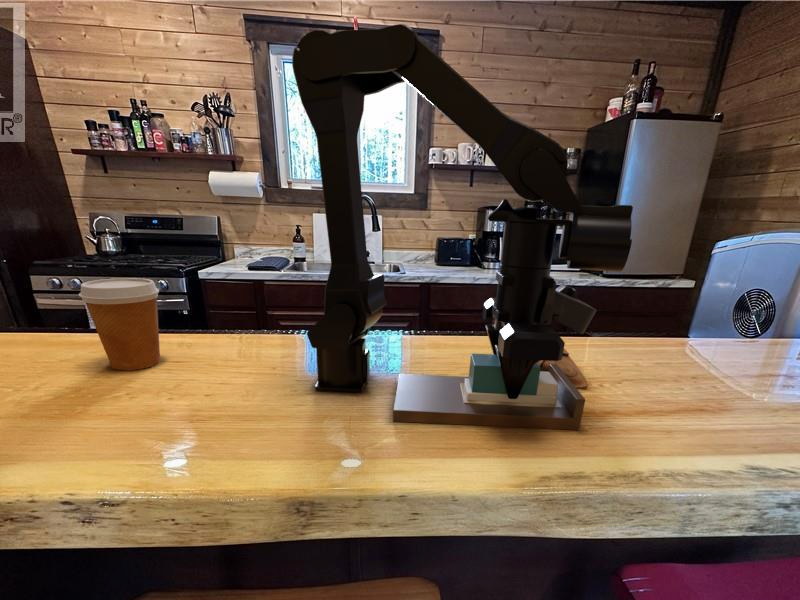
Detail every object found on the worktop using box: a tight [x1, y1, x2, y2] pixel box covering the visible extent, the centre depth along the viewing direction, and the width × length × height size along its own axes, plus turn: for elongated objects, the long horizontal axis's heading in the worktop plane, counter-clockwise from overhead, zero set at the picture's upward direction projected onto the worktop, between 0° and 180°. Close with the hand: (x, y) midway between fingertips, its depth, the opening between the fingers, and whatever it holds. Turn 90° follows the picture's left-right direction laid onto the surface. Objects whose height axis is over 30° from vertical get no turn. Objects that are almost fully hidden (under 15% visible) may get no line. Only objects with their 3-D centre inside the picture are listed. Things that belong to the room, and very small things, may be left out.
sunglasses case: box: [537, 348, 588, 389], centre depth 71 cm, size 18×7×7 cm
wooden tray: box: [392, 364, 586, 431], centre depth 56 cm, size 22×12×4 cm, turn 89°
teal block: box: [464, 353, 558, 404], centre depth 55 cm, size 11×5×5 cm, turn 89°
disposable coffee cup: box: [78, 277, 161, 371], centre depth 63 cm, size 10×10×12 cm
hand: (508, 389), depth 56 cm, fingers closed on teal block, 5 cm apart
